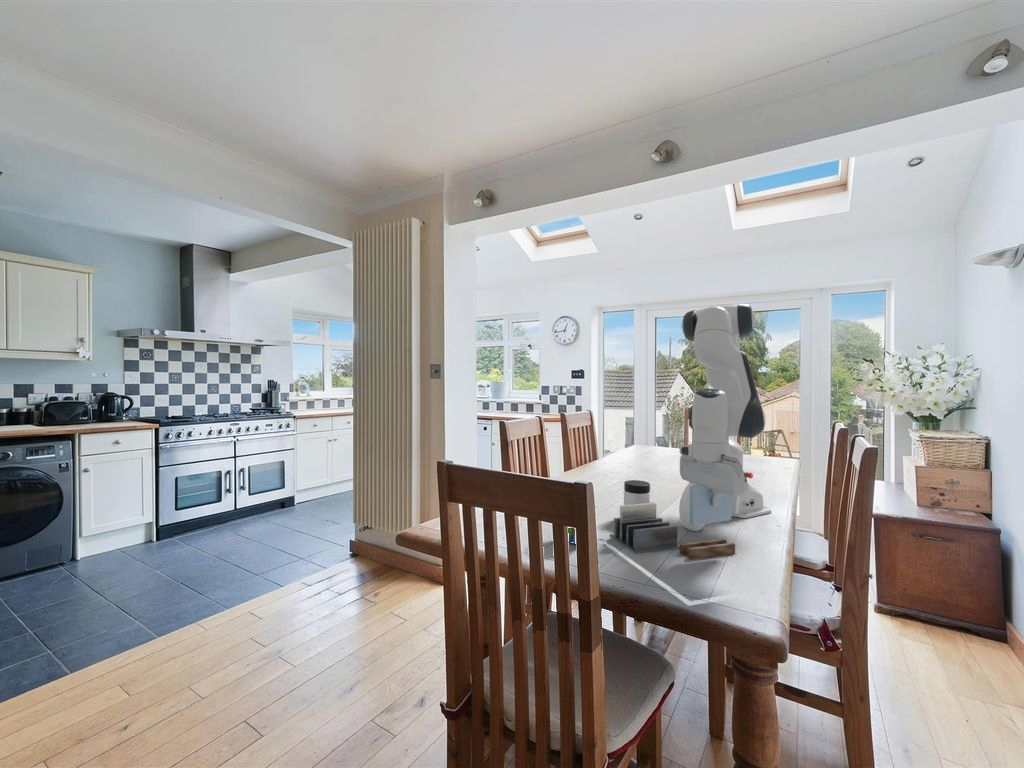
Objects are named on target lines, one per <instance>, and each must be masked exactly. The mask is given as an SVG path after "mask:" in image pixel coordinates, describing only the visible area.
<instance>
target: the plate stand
mask: <svg viewBox="0 0 1024 768" xmlns="http://www.w3.org/2000/svg"><path fill="white" fill-rule="evenodd" d="M679 545H680V548H679V552H678V553H679V554H680V555H682V556H684V557H685V558H687V559H689V560H690V561H693V560H702V559H708V558H715V557H722V556H730V555H737V553H736V543H734V542H728V540H727V539H726V538H719V539H711V540H703V541H702V540H701V541H696V542H695V541H693V542H686V543H685V542H684V543H680V544H679Z"/></svg>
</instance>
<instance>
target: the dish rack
mask: <svg viewBox="0 0 1024 768" xmlns="http://www.w3.org/2000/svg"><path fill="white" fill-rule="evenodd" d="M670 523H671V522H669V521H667V520H666V521H663V518H661V517H657V503H656V502H650V503H641V504H630V505H624V504H620V505H619V517H613V533H610V534H609V537H610V538H613V539H614V540H615V541H617V542H619V543H620V544H621V545H623V546H624V547H626V548H627V549H629V550H630V551H632V552H634V553H635V554H645V553H652V552H659V551H660V552H661V551H669V550H676V549H677V550H678V549H680V544H679V543H678V526H677V525H675V524H674V525H671V524H670Z"/></svg>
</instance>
